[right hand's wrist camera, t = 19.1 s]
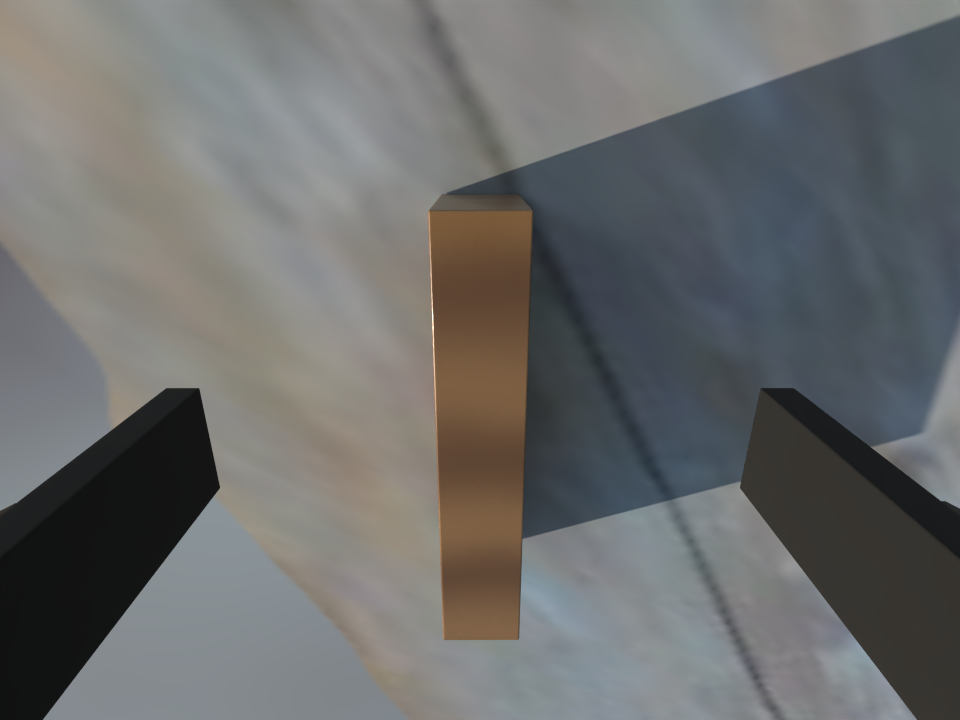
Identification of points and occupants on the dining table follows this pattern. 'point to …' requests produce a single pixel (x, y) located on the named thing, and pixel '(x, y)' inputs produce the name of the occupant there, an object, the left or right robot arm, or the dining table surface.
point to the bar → (480, 405)
